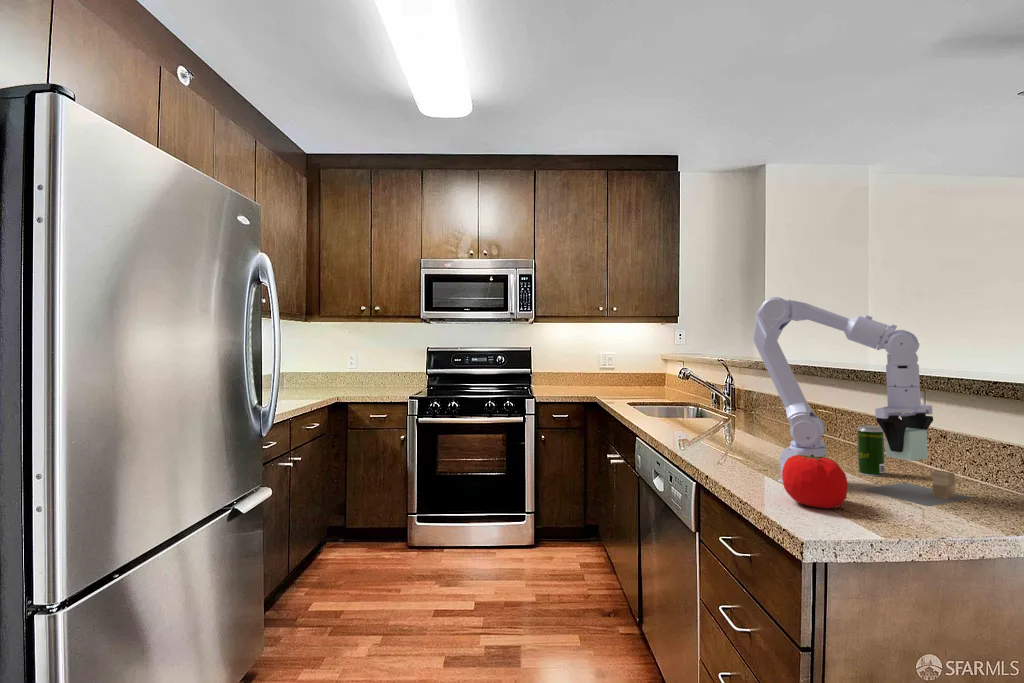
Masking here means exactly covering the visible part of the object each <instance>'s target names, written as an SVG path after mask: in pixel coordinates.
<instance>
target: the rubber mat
mask: <svg viewBox="0 0 1024 683" xmlns="http://www.w3.org/2000/svg"><path fill="white" fill-rule="evenodd" d="M860 490H861V491H865V492H869V493H874V494H877V495H881V496H886V497H890V498H894V499H897V500H900V501H906V502H910V503H914V504H918V505H922V506H926V507H931V506H937V505H938V506H939V505H944V504H950V503H955V502H961V501H966V500H973V499H974V500H975V497H972V496H967V495H963V494H959V493H955V498H951V499H944V498H940V497H935V496H933V487H932V488H931V487H927V486H923V485H917V484H913V483H908V482H901V483H899V482H898V483H894V484H887V485H885V484H884V485H880V486H879V485H878V486H872V487H866V488H865V487H864V488H860Z"/></svg>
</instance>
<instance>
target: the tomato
mask: <svg viewBox="0 0 1024 683" xmlns="http://www.w3.org/2000/svg"><path fill="white" fill-rule="evenodd" d="M824 456H826V458H825V457H823V456H820V457H815V456H814V454H811V455H810V456H807V455H794V456H792V457H790V458H788V459H787V461H786V462H785V464H784V467H783V470H782V480H783V482H782V484H783V488H784V490H785V492H786V493H787V495H789V497H791V499H792V500H794V501H795V502H797V503H798V504H802V505H805V506H807V507H813V508H819V509H825V510H826V509H835V508H838V507H839V506H841V505H842V504H843V503H844V501H845V500H846V499H847V496H848V495H847V494H848V489H849V488H848V487H849V483H848V480H847V479H848V478H847V475H846V473H845V471H844V470H843V469H842V468H841V466H840V465H839V464H838V462H836V461H834V460H833V459H831V458H829V457H827V454H826V455H824Z"/></svg>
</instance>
